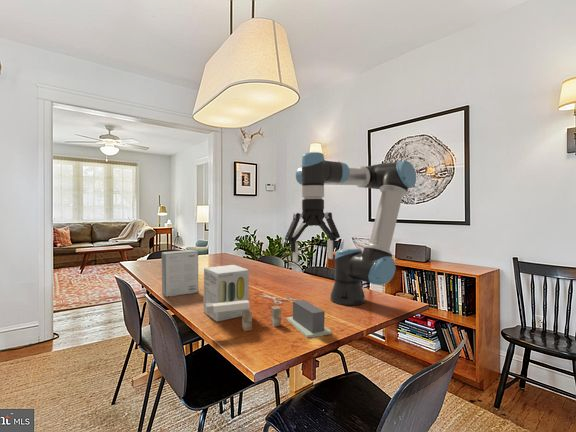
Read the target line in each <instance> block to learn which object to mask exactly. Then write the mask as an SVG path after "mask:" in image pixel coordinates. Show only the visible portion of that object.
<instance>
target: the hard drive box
mask: <svg viewBox="0 0 576 432" xmlns="http://www.w3.org/2000/svg"><path fill="white" fill-rule="evenodd" d="M195 293H199V251H198V250H195V249H186V250H173V251H172V250H171V251H162V252H161V294H162V295H163V296H164V297H165V298H167V297H168V296H169V297H175V296H176V297H177V296H182V295H189V294H190V295H191V294H195Z"/></svg>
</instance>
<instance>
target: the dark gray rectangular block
mask: <svg viewBox="0 0 576 432" xmlns="http://www.w3.org/2000/svg"><path fill="white" fill-rule="evenodd" d="M325 315H326V314H325V311H324V310H323V309H321V308H319V307H317V306H316V305H314V304H313V303H311V302H309V301H307V300H305V299H299V300H298V299H297V300H292V317H293V320H295V321H296V322H298V323H299V324H300V325H302V326H303V327H304V328H306V329H307V330H309V331H310V332H311V333H317V332H322V331H324V326H325Z"/></svg>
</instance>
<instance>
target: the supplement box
mask: <svg viewBox="0 0 576 432" xmlns="http://www.w3.org/2000/svg"><path fill="white" fill-rule="evenodd" d="M249 275H250V273H249V269H248V268H245V267H241V266H239V265H236V264H228V265H218V266H209V267H204V268H203V312H204V313H205V314H206V315H207V316H209V317H210V318H211V319H213V320H214V321H215V322H217V323H218V322H221V321H227V320H230V319H235V318H240V317H242V310H247V309H240V310H232V311H223V312H215V313H213V314H207V313H206V311H205V303H212V304H214V303H223V302H233V301H242V300H248V301H249V302H250V300H249V298H250V297H249V296H250V295H249V294H250V293H249V292H250V291H249V287H250V283H249V282H250V281H249V277H250V276H249Z"/></svg>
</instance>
